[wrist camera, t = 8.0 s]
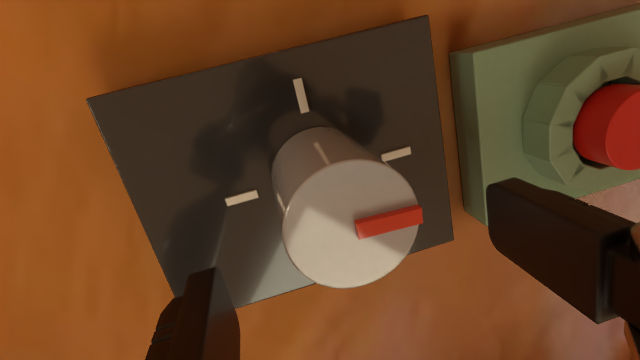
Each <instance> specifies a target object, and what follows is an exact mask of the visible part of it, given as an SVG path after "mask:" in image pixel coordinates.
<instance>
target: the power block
mask: <svg viewBox="0 0 640 360" xmlns="http://www.w3.org/2000/svg"><path fill="white" fill-rule="evenodd" d="M449 60H450V70H451V80H452V90H453V100H454V110H455V121H456V131H457V141H458V151H459V161H460V171H461V181H462V191H463V202H464V210H465V211H466V212H467V213H468V214H470V215H471V216H473V217H474V218H476V219H477V220H478V221H480V222H481V223H483V224H484V225H485V226H488V217H487V205H486V188H487V186H488V185H489V184H492V183H496V182H499V181H502V180H505V179H509V178H512V177H516V178H519V179H521V180H524V181H526V182H528V183H531V184H533V185H536V186H538V187H540V188H543V189H549V190H554V191H558V192H561V193H563V194H566V195H568V196H571V197H573V198H574V199H576V198H579V197H582V196H585V195H588V194H592V193H595V192H598V191H601V190H605V189H608V188H611V187H614V186H617V185H621V184H624V183H627V182H630V181H633V180H636V179H640V169H636V170H622V169H618V168H615V167H612V166H608V165H605V164H602V163H598V162H595V161H592V160H588V159H586V158H584V157H583V156H581V155H580V154H579V153H578V151H577V150H576V148H575V146H574V143H573V124H574V122H575V120H576V117H577V115H578V113H579V111H580V109H581V107H582V105H583V103H584V101H585V100H586V99H587V98H588V97H589V96H590V95H591V94H592V93H594V92H595V91H596V90H598V89H600V88H602V87H604V86H607V85H610V84H632V85H640V4H636V5H632V6H629V7H625V8H621V9H617V10H613V11H609V12H605V13H601V14H598V15H594V16H590V17H586V18H582V19H578V20H574V21H571V22H567V23H563V24H559V25H555V26H551V27H547V28H544V29H540V30H536V31H532V32H528V33H524V34H520V35H516V36H513V37H509V38H505V39H501V40H497V41H493V42H489V43H486V44H482V45H478V46H474V47H470V48H466V49H462V50H458V51H455V52H451V53H449Z"/></svg>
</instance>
